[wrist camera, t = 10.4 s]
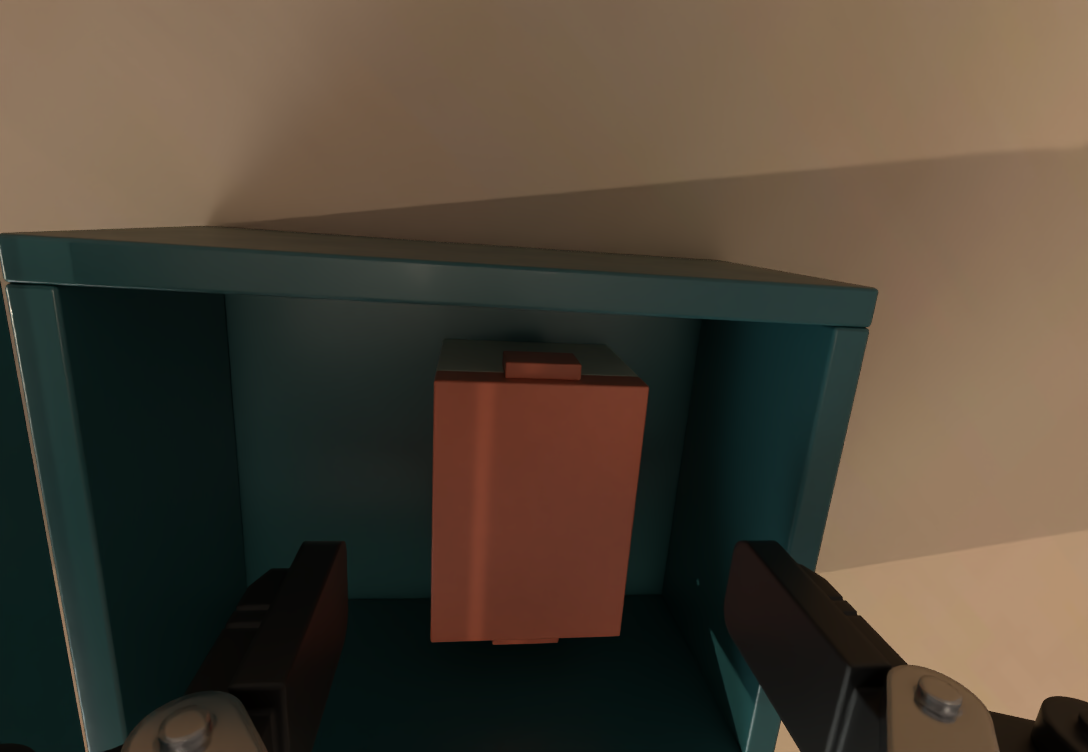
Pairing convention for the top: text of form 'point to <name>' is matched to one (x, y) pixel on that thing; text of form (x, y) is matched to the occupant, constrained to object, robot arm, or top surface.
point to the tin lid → (28, 592)
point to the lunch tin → (411, 467)
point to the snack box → (532, 490)
